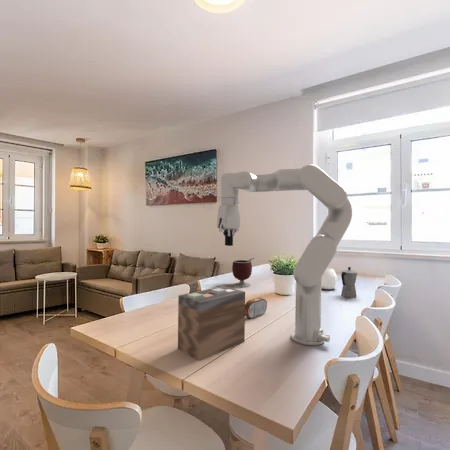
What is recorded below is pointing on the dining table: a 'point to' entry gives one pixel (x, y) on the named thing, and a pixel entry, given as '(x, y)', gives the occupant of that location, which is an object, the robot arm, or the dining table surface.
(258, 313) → the tin
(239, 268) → the mate gourd
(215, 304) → the console
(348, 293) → the coffeepot
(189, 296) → the sage key
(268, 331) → the dining table surface
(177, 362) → the dining table surface
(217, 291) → the grey key
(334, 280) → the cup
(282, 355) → the dining table surface
